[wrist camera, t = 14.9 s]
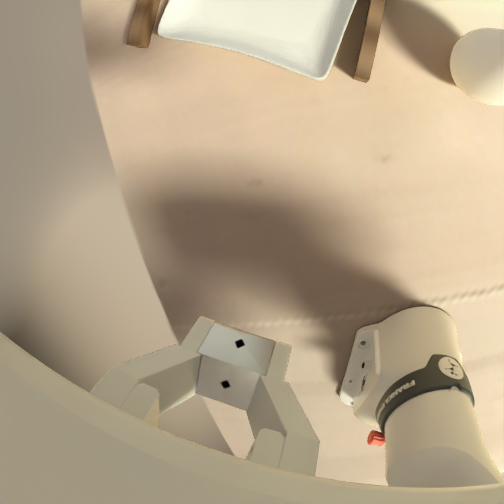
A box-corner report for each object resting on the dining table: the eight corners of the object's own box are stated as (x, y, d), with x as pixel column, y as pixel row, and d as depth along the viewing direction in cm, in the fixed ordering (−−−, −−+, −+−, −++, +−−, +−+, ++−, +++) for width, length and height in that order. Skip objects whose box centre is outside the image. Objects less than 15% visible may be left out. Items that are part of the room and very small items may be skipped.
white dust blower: (433, 92, 28) (512, 75, 12) (439, 34, 25) (510, -17, 8) (487, 115, 27) (582, 123, 11) (494, 59, 23) (582, 36, 7)
